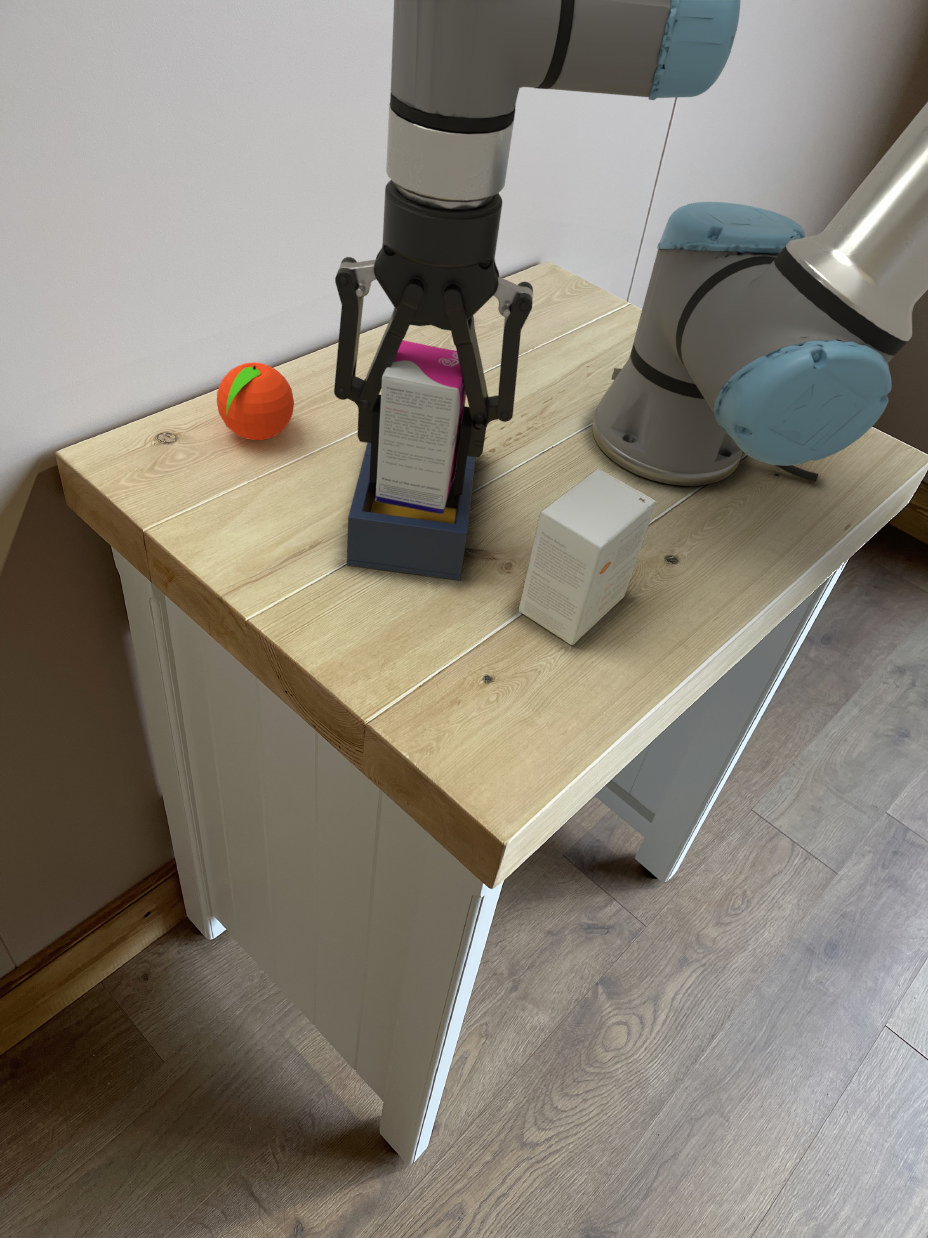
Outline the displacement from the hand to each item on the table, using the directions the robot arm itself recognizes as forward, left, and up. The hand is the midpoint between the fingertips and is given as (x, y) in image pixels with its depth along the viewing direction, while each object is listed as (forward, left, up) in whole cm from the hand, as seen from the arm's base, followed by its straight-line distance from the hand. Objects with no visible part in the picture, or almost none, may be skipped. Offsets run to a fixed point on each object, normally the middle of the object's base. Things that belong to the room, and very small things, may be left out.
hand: (417, 478), depth 75 cm
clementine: (+16, -11, -6) cm, 21 cm away
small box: (-14, +6, -6) cm, 16 cm away
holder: (0, -4, -6) cm, 7 cm away
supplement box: (0, 0, -1) cm, 1 cm away
